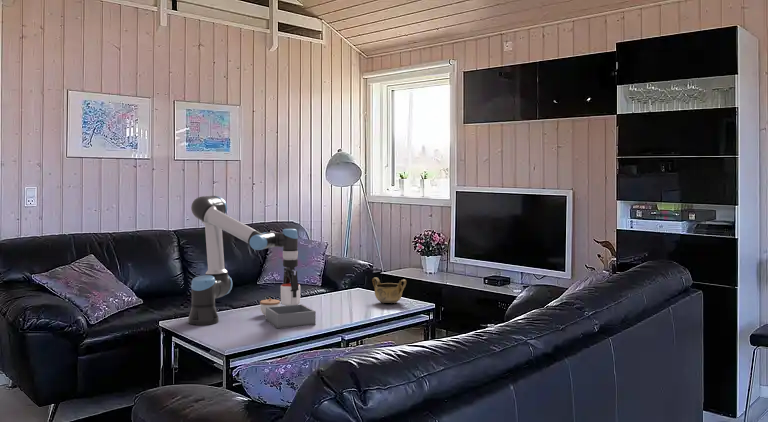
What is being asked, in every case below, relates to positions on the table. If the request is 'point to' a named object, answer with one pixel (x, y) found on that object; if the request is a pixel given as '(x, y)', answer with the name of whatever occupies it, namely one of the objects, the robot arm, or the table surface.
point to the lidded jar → (268, 304)
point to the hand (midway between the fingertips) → (290, 301)
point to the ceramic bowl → (388, 291)
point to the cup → (288, 295)
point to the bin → (290, 316)
